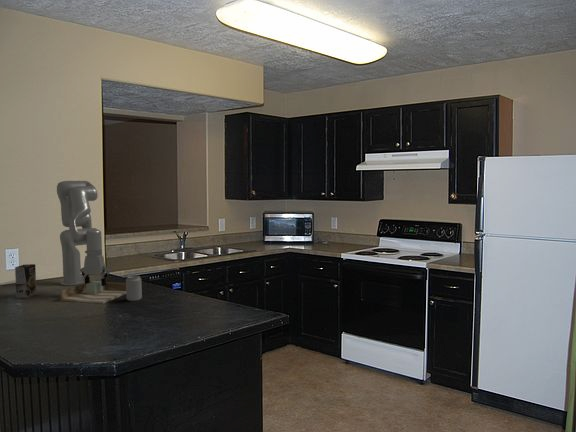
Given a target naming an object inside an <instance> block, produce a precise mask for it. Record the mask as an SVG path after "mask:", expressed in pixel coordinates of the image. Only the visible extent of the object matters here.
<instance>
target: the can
mask: <svg viewBox="0 0 576 432" xmlns="http://www.w3.org/2000/svg"><path fill="white" fill-rule="evenodd" d="M125 283H126V294H125V295H126V297H125V298H126V300H127V301H128V302H138V301H141V299H142V298H143V292H142V289H143V288H142V285H143V284H142V277H141V276H140V275H128V276H127V277H126V279H125Z"/></svg>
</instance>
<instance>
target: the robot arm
mask: <svg viewBox="0 0 576 432" xmlns="http://www.w3.org/2000/svg"><path fill="white" fill-rule="evenodd" d="M98 194H99V193H98V190H97V188H96V187H95V186H94V185H93V184H92V183H91V182H89V181H88V180H62V181H60V182H58V183H57V185H56V195H57V197H58V199H59V203H60V215H61V222H62V226H63V227H66V228H68V229H66V230H63V231H61V233H59V234H60V235H59V239H60V241H59V242H60V245H61V254H62V255H61V256H62V278H63V279H62V281H60V285H61V286H69V287H70V286H77V285H80V284H83V283H85V285H86V284H87V283H90V282H91V281H90V280H91V279H90V276H100V278H101V279H100V280H101V286H105V285H106V282H107V278H108V277H109V274H110V273H111V269H110V268H108V267H106V264H105V263H106V262H105V257H104V255H103V247H102V245H103V244H102V240H103V239H102V231H101V230H100V229H97V228H95V227H93V225H92V216H91V210H92V209H91V205H90V203H89V202H93V201H94V202H95V201H96V200H97V199H98V196H99V195H98ZM78 227H79V228H78ZM80 227H81V228H80ZM85 245H86V250H85V251H84V253H85V254H86V255H85V257H84V262H83V267H81V265H82V263H81V252H80V251H79V249H78V248H77V247H76V246H85Z"/></svg>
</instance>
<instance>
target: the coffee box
mask: <svg viewBox="0 0 576 432" xmlns="http://www.w3.org/2000/svg"><path fill="white" fill-rule="evenodd" d="M14 268H15V269H14V271H15V274H14V275H15V297H16V298H17V299H19V298H20V299H22V298H23V299H24V298H25V299H28V298H30V297H31V298H32V296H33V297H34V296H35V295H37V294H38V293H37V272H36V271H37V269H36V264H34V263H33V264H30V263H28V264H22V265H18V266H16V267H14Z"/></svg>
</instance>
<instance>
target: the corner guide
mask: <svg viewBox="0 0 576 432" xmlns="http://www.w3.org/2000/svg"><path fill="white" fill-rule="evenodd" d="M59 295H60V301H61V302H69V303H70V302H72V303H73V302H74V303H87V304H89V303H90V304H106V303H107V302H110V301H112V300H115V299H117V298H120V297H122V296H124V295H126V282H110V281H108V282H107V281H106V285H105V290H104V291H101V292H98V293H96V294H89V293H86V285H85V282H84V283H82V284H79V285H73V286H72V287H69V288H66V289H62V290H60V294H59Z"/></svg>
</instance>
